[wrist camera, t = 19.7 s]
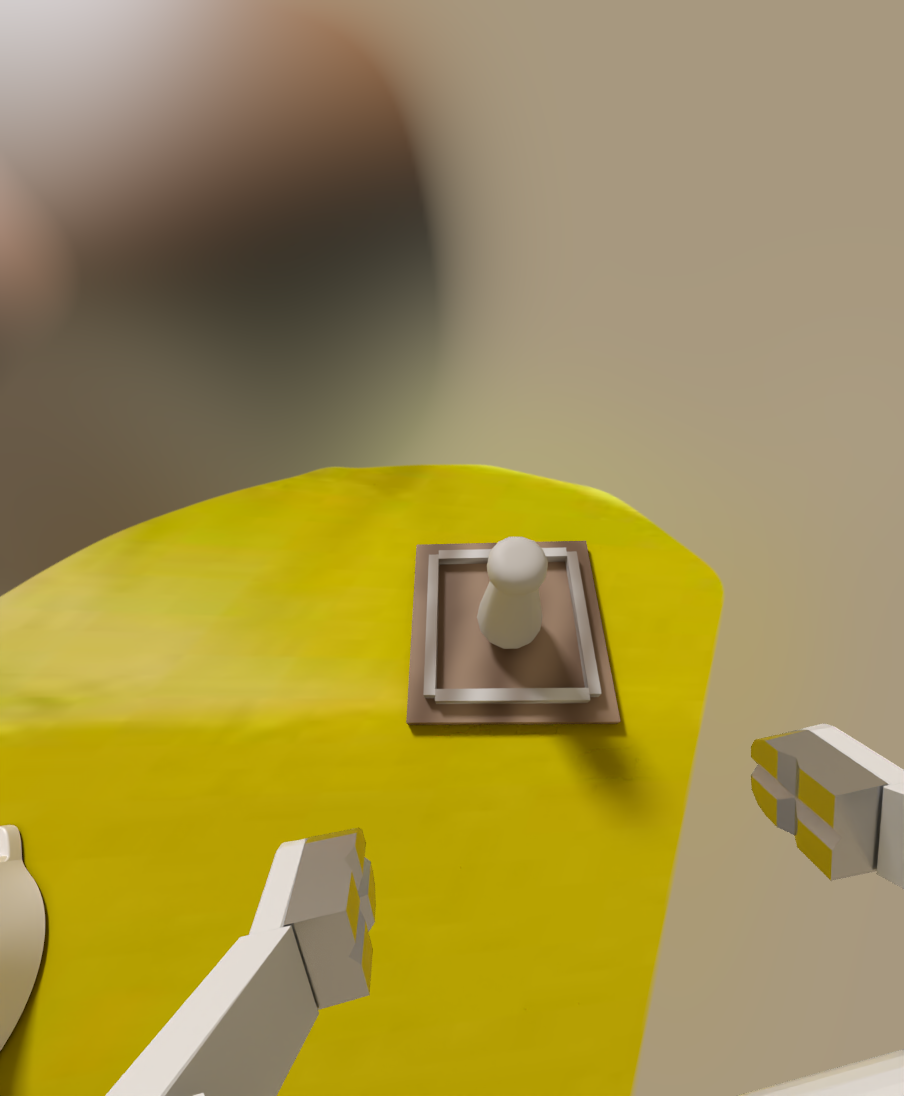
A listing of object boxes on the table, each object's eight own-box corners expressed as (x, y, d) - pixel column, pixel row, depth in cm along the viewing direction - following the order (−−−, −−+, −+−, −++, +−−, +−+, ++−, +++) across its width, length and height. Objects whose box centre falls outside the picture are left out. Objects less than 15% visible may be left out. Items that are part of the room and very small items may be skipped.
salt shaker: (547, 613, 41) (573, 540, 30) (525, 667, 38) (544, 607, 27) (491, 590, 43) (496, 512, 32) (467, 640, 40) (462, 574, 29)
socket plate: (408, 724, 37) (404, 719, 35) (417, 549, 47) (415, 538, 45) (617, 723, 37) (624, 718, 35) (583, 545, 46) (588, 534, 44)
